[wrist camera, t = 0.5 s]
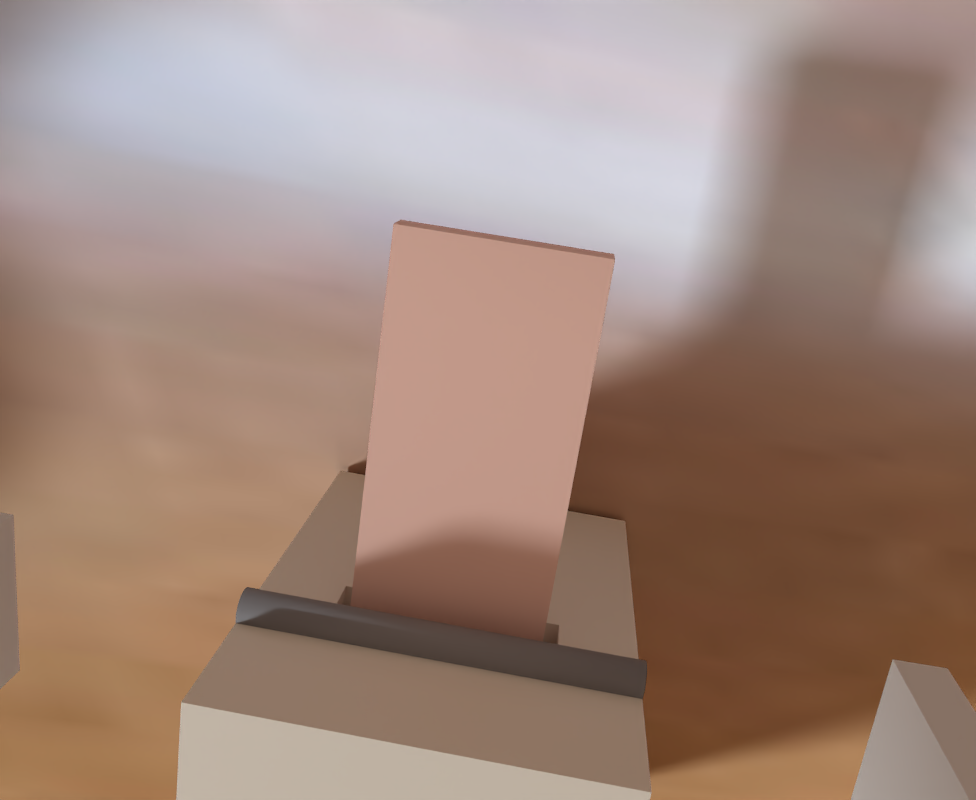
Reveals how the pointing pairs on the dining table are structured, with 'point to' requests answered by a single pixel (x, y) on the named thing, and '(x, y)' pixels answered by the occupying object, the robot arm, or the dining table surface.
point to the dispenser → (419, 686)
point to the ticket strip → (476, 425)
